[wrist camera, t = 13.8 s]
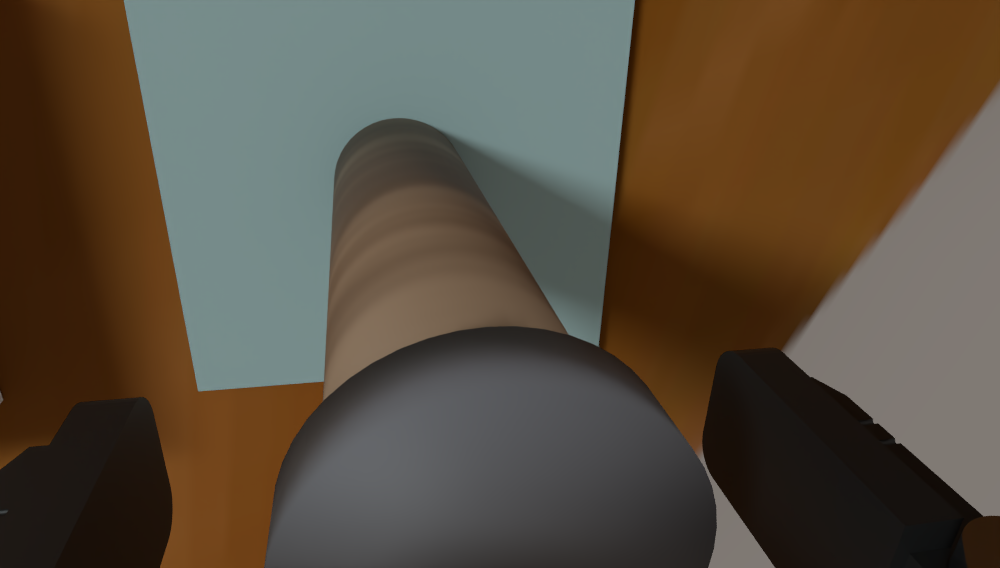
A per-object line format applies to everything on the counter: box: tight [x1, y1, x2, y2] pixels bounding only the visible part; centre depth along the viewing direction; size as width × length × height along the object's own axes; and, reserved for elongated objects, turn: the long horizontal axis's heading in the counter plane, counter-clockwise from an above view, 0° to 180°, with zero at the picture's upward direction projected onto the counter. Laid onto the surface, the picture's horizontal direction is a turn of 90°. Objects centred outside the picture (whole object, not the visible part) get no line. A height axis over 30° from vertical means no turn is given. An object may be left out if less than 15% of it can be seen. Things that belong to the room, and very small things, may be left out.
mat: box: [124, 0, 635, 391], centre depth 21 cm, size 14×14×1 cm
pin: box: [264, 118, 717, 568], centre depth 14 cm, size 5×5×15 cm
